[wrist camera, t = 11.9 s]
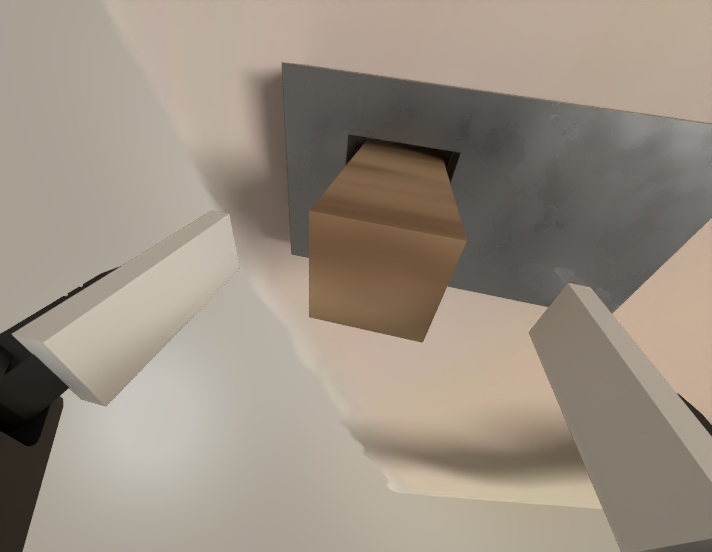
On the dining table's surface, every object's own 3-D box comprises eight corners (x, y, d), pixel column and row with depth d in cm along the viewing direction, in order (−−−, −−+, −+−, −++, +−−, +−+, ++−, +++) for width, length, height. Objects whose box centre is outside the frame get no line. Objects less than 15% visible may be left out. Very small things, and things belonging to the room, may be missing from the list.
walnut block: (421, 220, 20) (422, 342, 11) (358, 208, 21) (309, 317, 12) (441, 152, 17) (466, 240, 8) (367, 139, 18) (309, 211, 8)
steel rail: (586, 292, 21) (606, 318, 19) (304, 236, 23) (291, 254, 21) (732, 126, 14) (795, 136, 12) (302, 64, 16) (281, 62, 14)
